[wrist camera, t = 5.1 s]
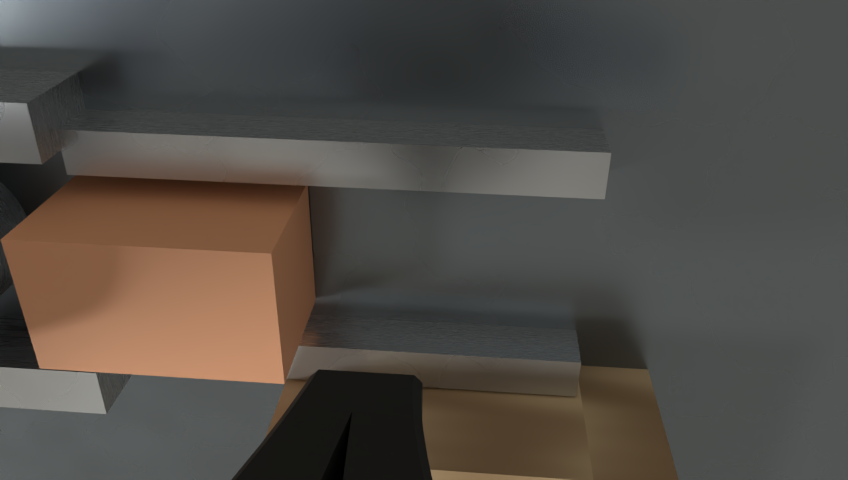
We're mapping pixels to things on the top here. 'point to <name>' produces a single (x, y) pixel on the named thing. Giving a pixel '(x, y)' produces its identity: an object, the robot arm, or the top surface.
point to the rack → (542, 431)
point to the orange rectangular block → (166, 277)
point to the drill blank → (7, 231)
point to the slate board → (466, 208)
